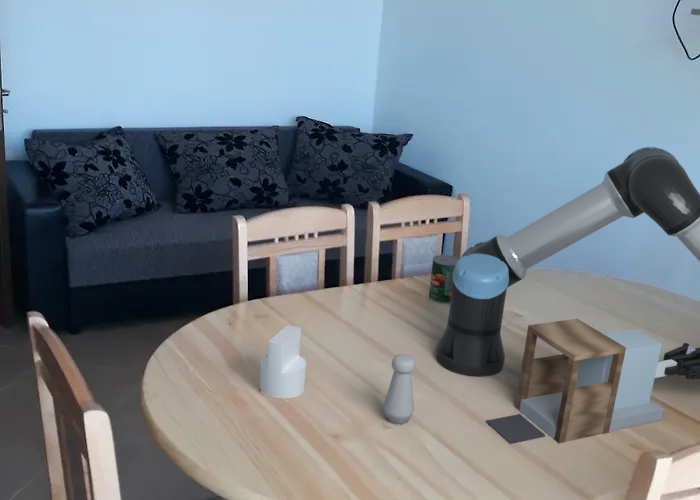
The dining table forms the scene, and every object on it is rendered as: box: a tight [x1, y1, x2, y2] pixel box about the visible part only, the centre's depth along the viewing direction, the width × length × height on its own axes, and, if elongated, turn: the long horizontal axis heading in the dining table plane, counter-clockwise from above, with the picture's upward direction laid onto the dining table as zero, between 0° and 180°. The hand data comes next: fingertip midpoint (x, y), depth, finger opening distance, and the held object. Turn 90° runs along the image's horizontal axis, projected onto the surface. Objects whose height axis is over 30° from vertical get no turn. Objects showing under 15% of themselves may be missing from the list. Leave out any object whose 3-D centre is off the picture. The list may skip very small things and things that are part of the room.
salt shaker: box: [382, 354, 416, 426], centre depth 146 cm, size 6×6×13 cm
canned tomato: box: [428, 254, 461, 305], centre depth 207 cm, size 8×8×11 cm
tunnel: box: [514, 318, 626, 444], centre depth 149 cm, size 12×14×18 cm
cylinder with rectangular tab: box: [259, 325, 307, 399], centre depth 154 cm, size 9×9×12 cm
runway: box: [519, 392, 665, 440], centre depth 155 cm, size 26×13×2 cm, turn 115°
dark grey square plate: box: [485, 413, 546, 445], centre depth 147 cm, size 8×8×1 cm
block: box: [575, 328, 663, 409], centre depth 154 cm, size 14×7×13 cm, turn 115°
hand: (649, 371), depth 158 cm, fingers closed
